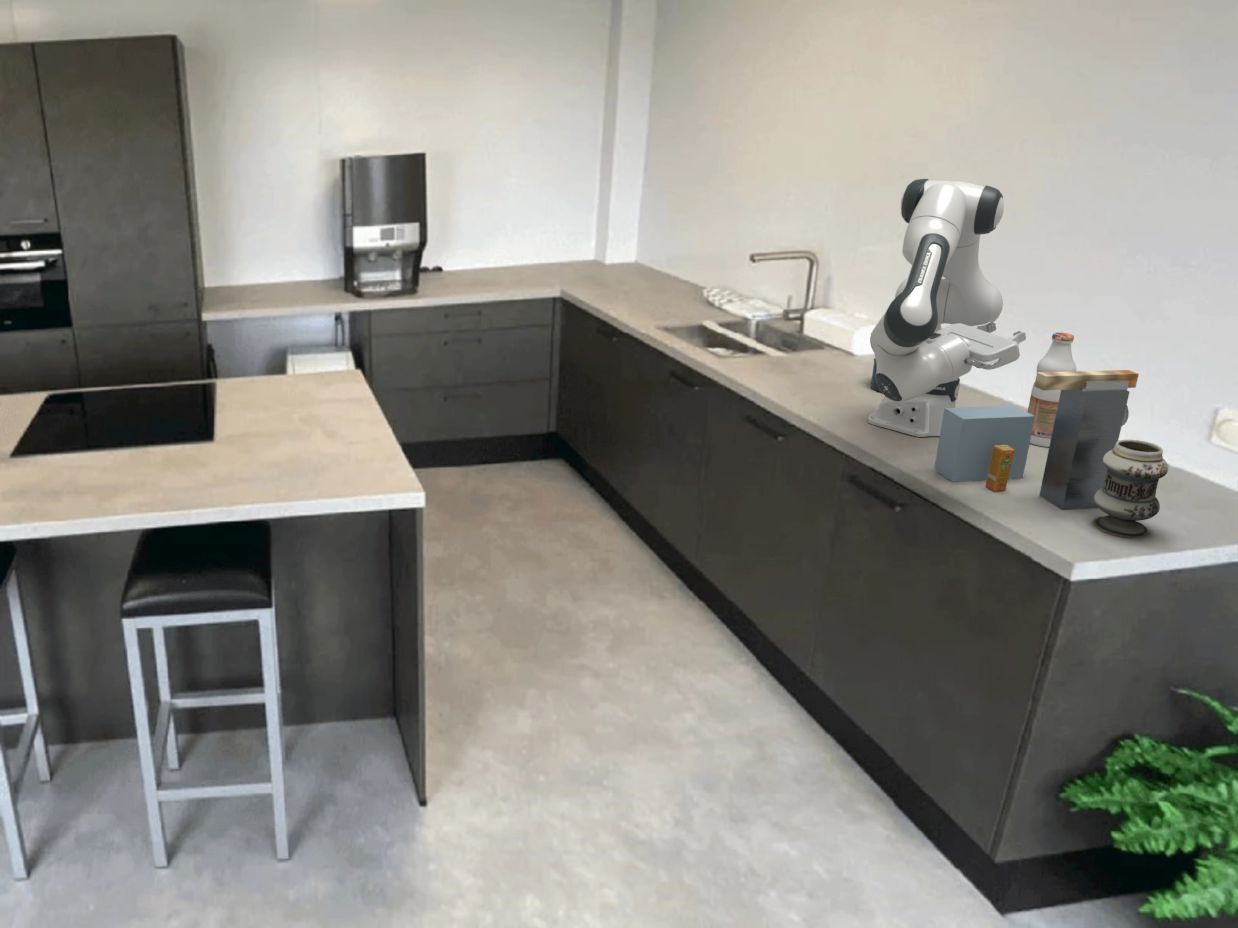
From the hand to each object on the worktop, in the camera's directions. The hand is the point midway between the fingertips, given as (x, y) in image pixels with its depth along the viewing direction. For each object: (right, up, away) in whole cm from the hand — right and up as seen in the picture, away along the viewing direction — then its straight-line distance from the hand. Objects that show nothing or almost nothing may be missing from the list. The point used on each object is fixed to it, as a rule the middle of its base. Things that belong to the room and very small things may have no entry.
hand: (1008, 330), depth 205 cm
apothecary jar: (+22, -41, -2) cm, 47 cm away
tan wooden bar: (+16, -12, 0) cm, 20 cm away
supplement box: (+3, -34, +15) cm, 37 cm away
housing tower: (+18, -36, +10) cm, 41 cm away
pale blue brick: (+2, -30, +24) cm, 39 cm away
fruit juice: (+27, -22, +48) cm, 59 cm away
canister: (0, -6, +88) cm, 88 cm away
